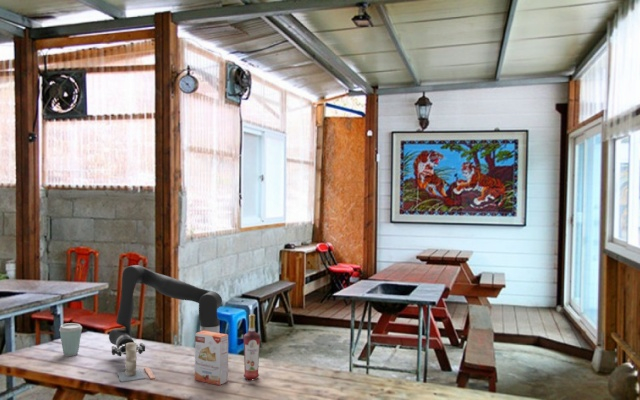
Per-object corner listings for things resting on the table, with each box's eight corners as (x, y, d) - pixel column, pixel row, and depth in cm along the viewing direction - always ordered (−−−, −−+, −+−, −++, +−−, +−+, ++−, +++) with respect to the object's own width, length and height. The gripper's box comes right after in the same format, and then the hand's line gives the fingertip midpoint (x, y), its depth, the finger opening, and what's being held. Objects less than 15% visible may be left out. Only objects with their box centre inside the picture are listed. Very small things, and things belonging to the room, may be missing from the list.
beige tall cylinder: (135, 372, 239) (135, 341, 239) (136, 375, 235) (137, 344, 236) (124, 374, 237) (125, 342, 237) (126, 377, 233) (126, 345, 233)
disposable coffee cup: (86, 351, 273) (86, 322, 273) (74, 358, 262) (74, 327, 262) (66, 351, 274) (66, 322, 274) (54, 357, 264) (54, 326, 264)
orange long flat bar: (148, 368, 248) (148, 367, 248) (155, 378, 233) (155, 377, 233) (144, 369, 247) (144, 367, 247) (150, 379, 232) (150, 378, 232)
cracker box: (193, 380, 232) (194, 332, 232) (203, 376, 237) (203, 329, 237) (219, 386, 225) (220, 336, 225) (228, 382, 230) (228, 333, 230)
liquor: (244, 381, 231) (244, 317, 231) (241, 376, 238) (242, 313, 238) (260, 380, 233) (261, 316, 233) (258, 375, 240) (258, 313, 240)
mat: (140, 370, 244) (140, 369, 244) (144, 378, 233) (144, 377, 233) (117, 373, 239) (117, 372, 239) (120, 382, 229) (120, 380, 229)
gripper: (109, 337, 248) (113, 346, 234) (141, 334, 255) (147, 342, 241) (109, 354, 248) (113, 363, 234) (140, 350, 255) (147, 359, 241)
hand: (130, 353), depth 237 cm, fingers open, 8 cm apart
